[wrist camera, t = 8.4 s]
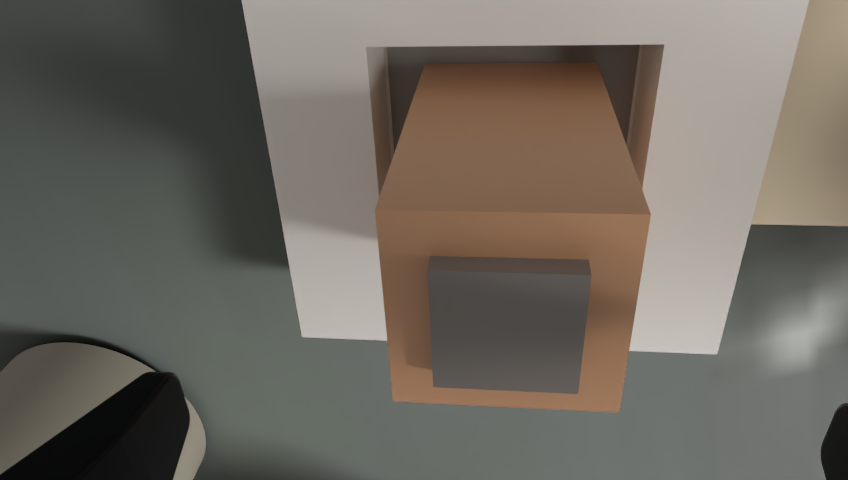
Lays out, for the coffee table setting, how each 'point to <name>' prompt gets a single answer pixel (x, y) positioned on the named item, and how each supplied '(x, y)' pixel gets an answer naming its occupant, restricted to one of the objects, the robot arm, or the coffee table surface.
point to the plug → (511, 240)
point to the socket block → (525, 43)
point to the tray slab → (812, 128)
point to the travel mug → (71, 398)
